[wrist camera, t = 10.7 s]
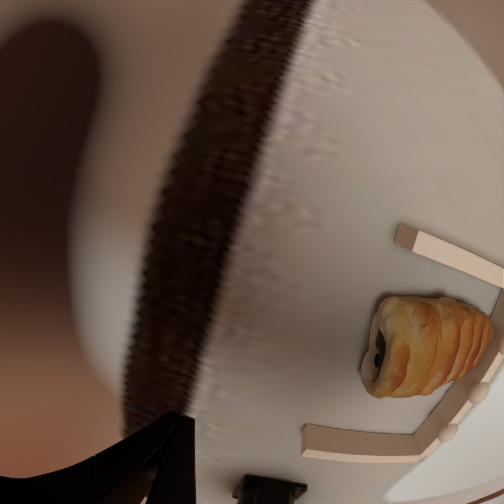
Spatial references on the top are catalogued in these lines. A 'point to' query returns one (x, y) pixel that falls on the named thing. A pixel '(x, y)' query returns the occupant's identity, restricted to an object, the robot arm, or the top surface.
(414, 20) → the top surface
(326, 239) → the top surface
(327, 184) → the top surface
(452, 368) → the pastry
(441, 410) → the frame
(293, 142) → the top surface
